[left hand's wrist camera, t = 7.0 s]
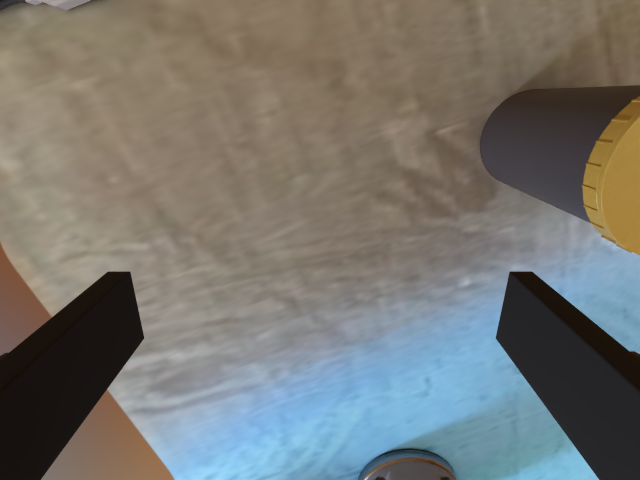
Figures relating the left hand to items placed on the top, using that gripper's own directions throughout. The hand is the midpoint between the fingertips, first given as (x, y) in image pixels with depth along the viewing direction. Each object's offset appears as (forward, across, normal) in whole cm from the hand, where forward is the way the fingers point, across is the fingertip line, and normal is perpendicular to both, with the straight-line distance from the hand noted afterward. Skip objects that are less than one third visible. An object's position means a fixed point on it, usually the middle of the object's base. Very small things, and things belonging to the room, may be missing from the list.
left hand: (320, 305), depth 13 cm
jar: (+28, -22, -3) cm, 35 cm away
